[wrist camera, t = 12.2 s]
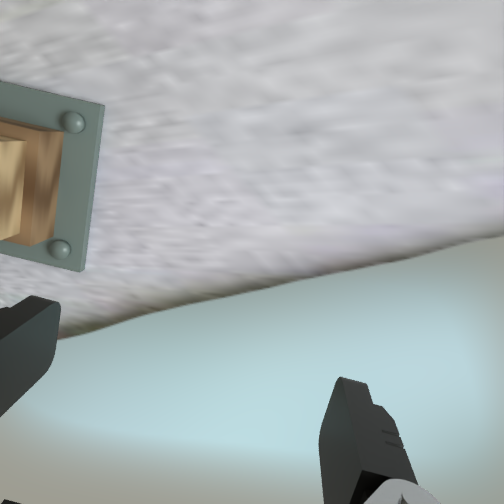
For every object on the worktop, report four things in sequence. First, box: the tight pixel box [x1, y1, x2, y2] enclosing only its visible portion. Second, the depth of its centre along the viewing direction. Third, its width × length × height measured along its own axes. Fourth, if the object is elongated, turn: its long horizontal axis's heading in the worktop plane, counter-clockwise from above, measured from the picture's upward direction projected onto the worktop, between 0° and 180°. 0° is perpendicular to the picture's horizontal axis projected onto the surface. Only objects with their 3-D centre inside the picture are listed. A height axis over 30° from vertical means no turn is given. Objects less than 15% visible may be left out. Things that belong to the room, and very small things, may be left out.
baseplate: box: [0, 81, 105, 272], centre depth 41 cm, size 16×16×2 cm
